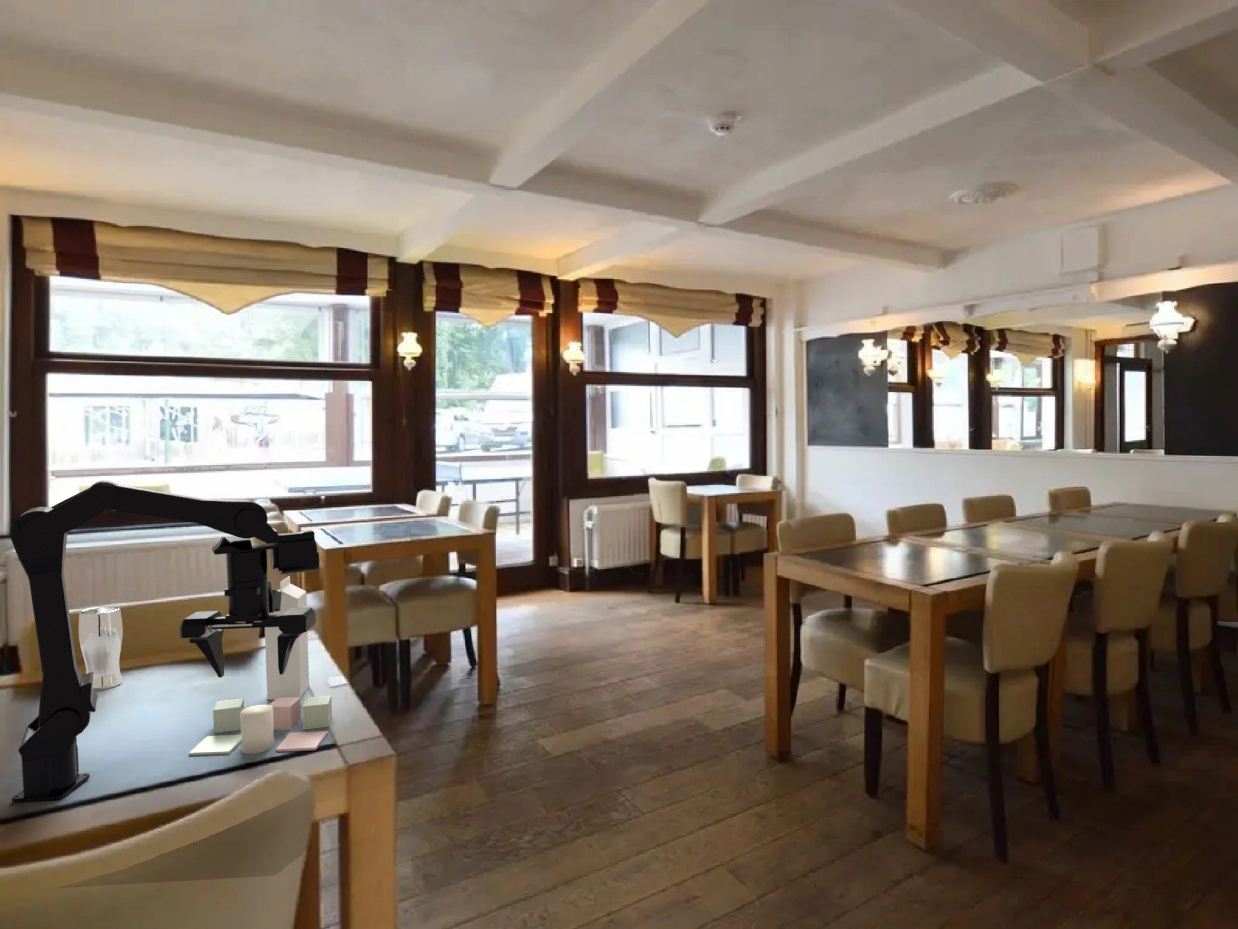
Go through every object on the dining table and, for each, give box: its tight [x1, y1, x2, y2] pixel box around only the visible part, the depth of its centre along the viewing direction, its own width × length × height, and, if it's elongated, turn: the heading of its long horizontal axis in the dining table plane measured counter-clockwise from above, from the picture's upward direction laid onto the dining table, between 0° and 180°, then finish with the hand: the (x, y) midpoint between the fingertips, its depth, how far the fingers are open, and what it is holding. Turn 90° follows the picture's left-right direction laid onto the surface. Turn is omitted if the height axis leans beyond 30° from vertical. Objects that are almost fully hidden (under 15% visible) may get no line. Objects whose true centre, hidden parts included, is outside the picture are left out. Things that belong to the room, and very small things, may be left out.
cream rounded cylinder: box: [240, 704, 275, 755], centre depth 114 cm, size 5×5×6 cm
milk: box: [264, 575, 310, 701], centre depth 136 cm, size 6×6×22 cm
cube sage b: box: [212, 697, 245, 734], centre depth 121 cm, size 4×4×4 cm
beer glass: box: [78, 605, 124, 692], centre depth 141 cm, size 7×7×15 cm
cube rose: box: [268, 697, 303, 731], centre depth 122 cm, size 4×4×4 cm
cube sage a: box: [302, 695, 333, 730], centre depth 123 cm, size 4×4×4 cm
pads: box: [188, 730, 329, 756], centre depth 115 cm, size 6×19×1 cm, turn 95°
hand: (251, 675), depth 114 cm, fingers open, 9 cm apart
